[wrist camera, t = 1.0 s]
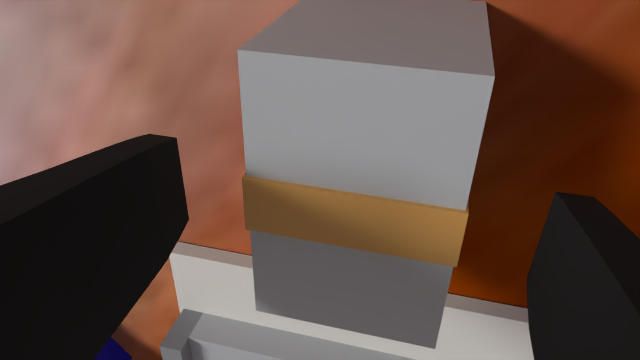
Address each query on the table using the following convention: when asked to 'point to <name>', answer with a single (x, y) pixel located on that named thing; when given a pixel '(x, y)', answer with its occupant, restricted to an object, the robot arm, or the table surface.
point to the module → (363, 159)
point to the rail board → (309, 338)
